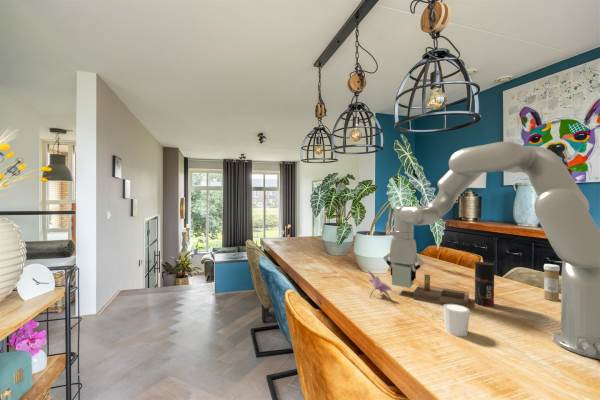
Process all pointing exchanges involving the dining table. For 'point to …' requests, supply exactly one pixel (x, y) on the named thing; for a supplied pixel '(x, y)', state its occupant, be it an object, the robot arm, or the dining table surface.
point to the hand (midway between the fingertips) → (402, 278)
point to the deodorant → (484, 284)
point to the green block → (401, 275)
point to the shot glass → (456, 319)
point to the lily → (379, 284)
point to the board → (440, 294)
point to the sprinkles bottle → (551, 282)
